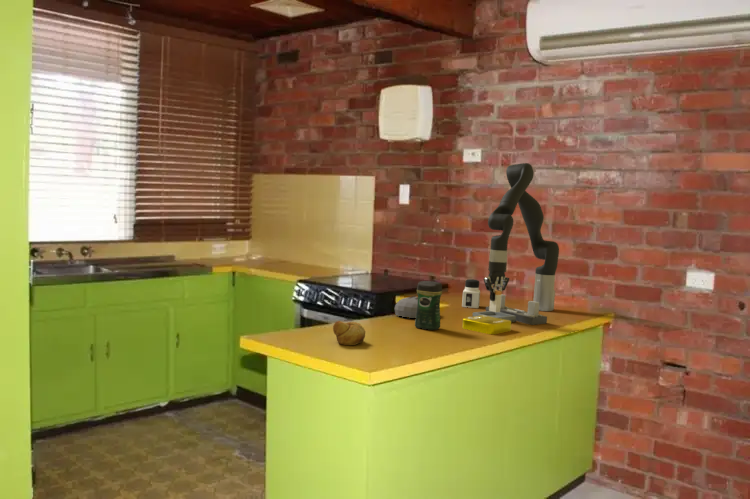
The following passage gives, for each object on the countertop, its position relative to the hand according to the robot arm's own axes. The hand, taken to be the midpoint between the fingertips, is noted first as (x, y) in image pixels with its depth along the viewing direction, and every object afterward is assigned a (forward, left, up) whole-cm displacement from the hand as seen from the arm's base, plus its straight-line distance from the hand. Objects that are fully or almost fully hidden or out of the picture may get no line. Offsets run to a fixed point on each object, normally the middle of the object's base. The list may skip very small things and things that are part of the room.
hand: (495, 300), depth 297 cm
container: (-14, -30, -9) cm, 34 cm away
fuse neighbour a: (-13, -10, -8) cm, 19 cm away
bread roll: (+82, +15, -9) cm, 84 cm away
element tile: (+18, +14, -9) cm, 24 cm away
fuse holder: (-13, 0, -8) cm, 16 cm away
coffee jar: (+40, +4, -9) cm, 41 cm away
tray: (0, 0, -8) cm, 8 cm away
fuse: (-13, +10, -8) cm, 19 cm away
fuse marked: (0, 0, -5) cm, 5 cm away
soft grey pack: (+28, -20, -9) cm, 36 cm away
